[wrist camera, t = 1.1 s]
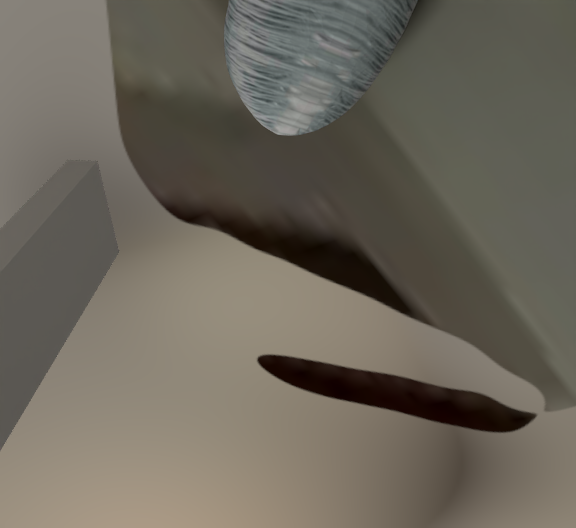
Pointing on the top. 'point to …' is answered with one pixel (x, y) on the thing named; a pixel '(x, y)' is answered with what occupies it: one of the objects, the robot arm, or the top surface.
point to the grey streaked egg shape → (308, 56)
